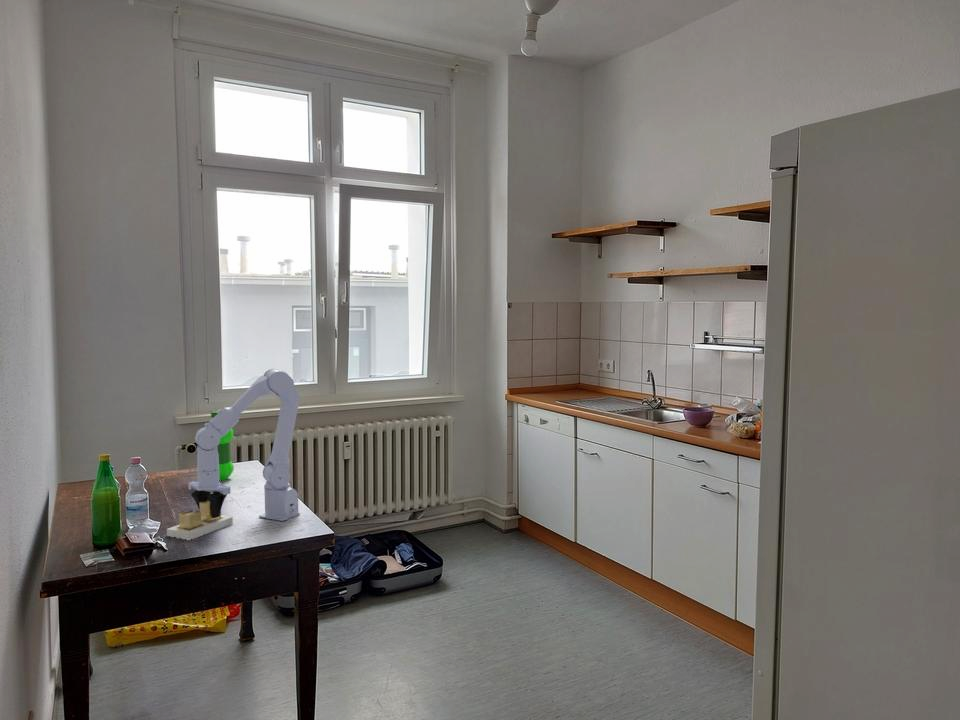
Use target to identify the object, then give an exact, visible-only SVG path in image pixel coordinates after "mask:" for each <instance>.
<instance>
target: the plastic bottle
mask: <svg viewBox="0 0 960 720" xmlns="http://www.w3.org/2000/svg"><path fill="white" fill-rule="evenodd" d="M217 411H218V410H214V411H210V418H211V419H213V418H214V417H215V416H216V415H217V413H216V412H217ZM233 438H234V430H233V427H232V428H231V429H230V430H229V431H228V432H227V433H226V434H225V435H224V436H223V437H221V438H220V442H219V445H218V446H217V448H218V456H219V480H223V481H226V480H225V479H227V480H228V478H229V477H230V476H231V475H232V474H233V473H234V470H235V469H234V468H235V467H234V464H233V462H232V460H231V459H232V458H231V457H232V456H231V441H232V440H233Z"/></svg>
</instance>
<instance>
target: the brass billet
mask: <svg viewBox="0 0 960 720" xmlns="http://www.w3.org/2000/svg"><path fill="white" fill-rule="evenodd" d="M199 505H200V511H201V522H205V523H212V522H215V521H217V520H220V519H221V515H222V511H221V512H220V516H219V517H217V518H212V514H211V506H210V502H209V499H208V500H204V501H202V502H199Z"/></svg>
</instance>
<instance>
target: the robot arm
mask: <svg viewBox="0 0 960 720" xmlns="http://www.w3.org/2000/svg"><path fill="white" fill-rule="evenodd" d="M272 393H274V394H275V396H276V397H277V398H278V399H279V400H280V402H281V404H280V408H279V414H278V419H277V424H276V429H275V433H274V434H275V435H274V439H273V444H272V449H271V453H270V455H269V457H268V460H267V463H266V464H265V465H264V467H263V469H262V476H263V477H262V478H263V479H264V480H265V481H266V482H265V483H264V487H263V488H264V489H263V490H264V491H263V492H264V493H263V494H264V513H262V514H260V515H258V518H263V519H268V520H274V521H281V522H284V521H287V520H289V519H292V518H294V517H296V516H298V514H299V515H300V514H301V512H300V511H299V494H298V492H297V490H296V489H294V488H292V487H291V486H290V481H291V473H290V463H291V462H290V457H289V456H290V453H291V452H290V451H291V446H292V441H293V436H294V431H295V426H296V421H297V415H298V409H299V405H300V396H299V394H298V390H297V388H296V385H295V381H294V379H293V378H292V377H291V376H290V375H289V374H288V373H287V372H285V371H284V370H283V371H282V370H279V369H277V368H271V369H268V370H266V372H264V373H263V375H261V376H259V377H258V378H257V379H256V380H255V381H254V382H253V383H252V384H251V385H250V386H249V387H248V389H246V390H245V392H244V393H242V395H240V397H239V398H238V399H237V400H236V401H235V402H234V403H233V404H232V405H231V406H230V407H227V406H226V407H223V408H222V409H218V410H216V411H217V412H216V413H217V415H216V416H215V417H214V418H211V420H210V421H209V422H205V423H204V427H201V428H200V429H198V430H197V431H196V434H195V436H194V441H195V443H196V445H197V447H196V452H197V454H196V463H197V464H196V465H197V481H190V482H188V483H187V488H188V490H190V491H192V490H194V492H191V497H192V498H193V501H195V503H196V505H197V508H198V511H200V505H199V502H202V501H204V500H208V499H209V502H210V506H211V514H212V518H217V517H219V516H220V512H221V513H222V507H223V504H224V503H225V502H224V501H225V499H226V497H227V496H228V495H230V494H231V493H232V492H231V486H229V485H225V484H223V483H221V481H219V456H218V448H217V446H218V445H219V442H220V438H221V437H223V436H224V435H225V434H226V433H227V432H228V431H229V430H230V429H231V428H232V429H233V428H234V427H235V426H236V425H237V424H238V423H239V422H240V415H241V414H242V413H243V412H244V411H245V410H246V409H248V408H249V407H250V406H251V405H252V404H253V403H254V402H255V401H256V400H257V399H258V398H259V397H261V396H267V395H270V394H272ZM293 516H294V517H293ZM286 519H287V520H286Z"/></svg>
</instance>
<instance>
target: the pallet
mask: <svg viewBox="0 0 960 720" xmlns="http://www.w3.org/2000/svg"><path fill="white" fill-rule="evenodd" d="M233 522H234V519H233V516H229V515H223V514H221V519H220V520H217V521H215V522H212V523H205V522H201V527H198V528H196V529H193V530H190V531H188V530H183V529H179V524H177V525H173V526H171V527H169V528H166V536H167V537H169V536H170V538H174V537H176V538H175V539H180V538H181V540H185V539H186V540H185V541H191V539H192V540H194V539H197V538H199V537H202V536H204V534H205V535H207V534H209V533H212V532H214V531H217V530H220V529H222V528H225V527H228V526H230V525H232V524H234V523H233Z"/></svg>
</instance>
